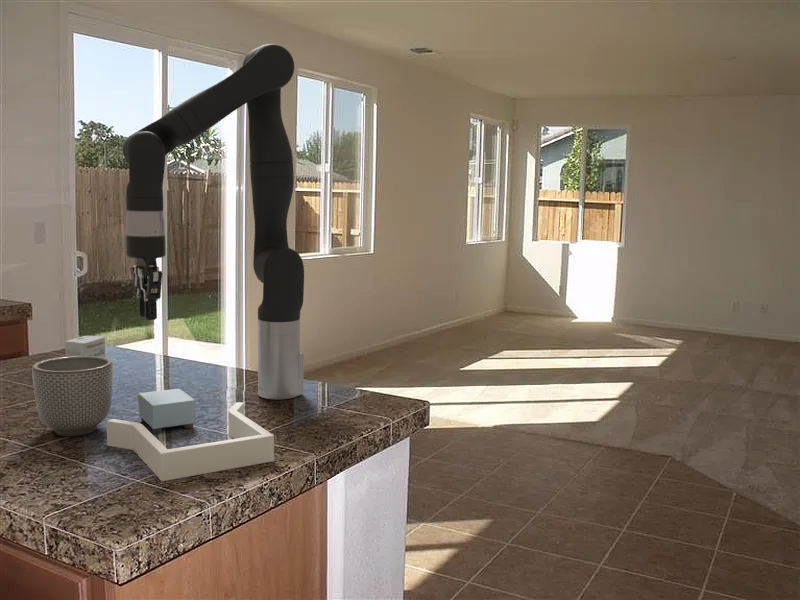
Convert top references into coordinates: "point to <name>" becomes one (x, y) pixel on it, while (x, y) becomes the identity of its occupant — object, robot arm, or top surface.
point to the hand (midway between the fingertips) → (147, 317)
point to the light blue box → (166, 409)
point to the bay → (196, 447)
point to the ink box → (86, 346)
